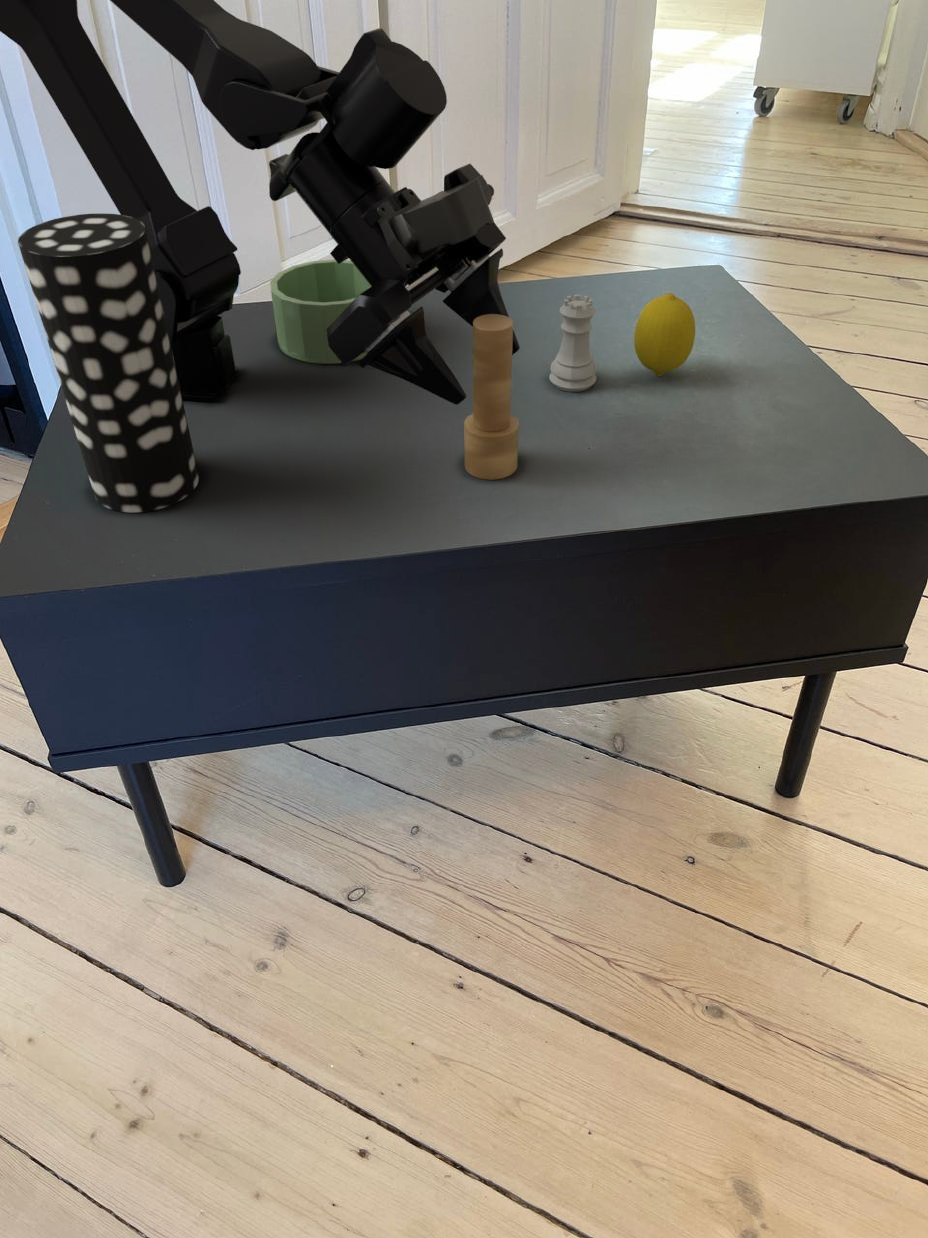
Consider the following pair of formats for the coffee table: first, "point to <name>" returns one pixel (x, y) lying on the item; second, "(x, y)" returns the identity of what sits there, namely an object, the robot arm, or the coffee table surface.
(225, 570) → the coffee table surface
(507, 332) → the pestle
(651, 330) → the lemon
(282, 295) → the crock
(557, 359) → the rook chess piece
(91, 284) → the white-spotted black cylinder
